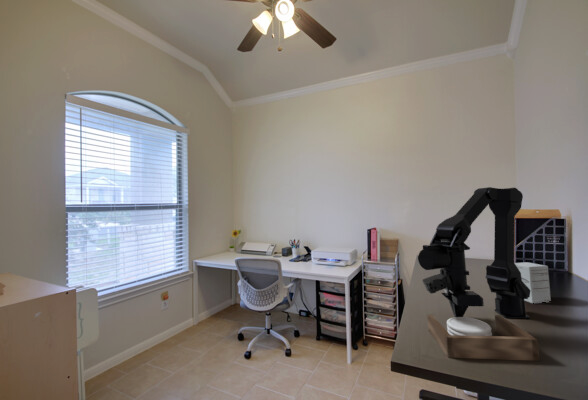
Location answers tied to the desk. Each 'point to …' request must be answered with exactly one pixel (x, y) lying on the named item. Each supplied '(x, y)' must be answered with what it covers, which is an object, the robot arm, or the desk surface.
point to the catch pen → (487, 342)
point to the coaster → (468, 327)
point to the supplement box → (535, 281)
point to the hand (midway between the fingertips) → (458, 321)
